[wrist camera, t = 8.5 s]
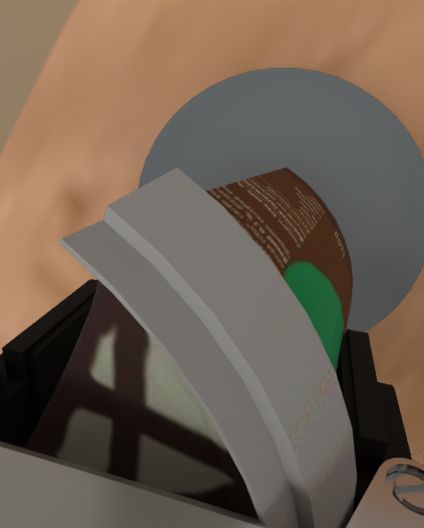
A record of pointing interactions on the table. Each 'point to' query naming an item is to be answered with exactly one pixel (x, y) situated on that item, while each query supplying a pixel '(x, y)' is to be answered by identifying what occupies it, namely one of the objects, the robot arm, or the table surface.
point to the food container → (214, 350)
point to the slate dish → (313, 166)
